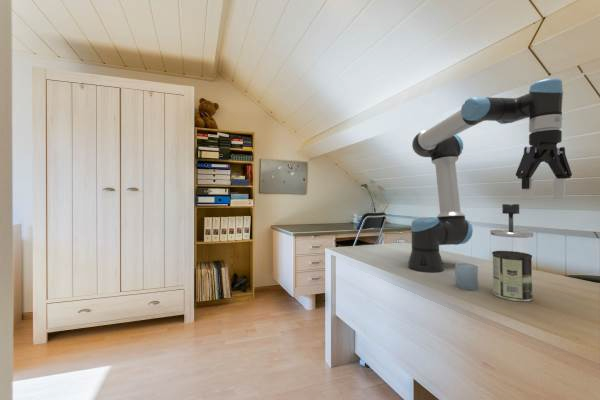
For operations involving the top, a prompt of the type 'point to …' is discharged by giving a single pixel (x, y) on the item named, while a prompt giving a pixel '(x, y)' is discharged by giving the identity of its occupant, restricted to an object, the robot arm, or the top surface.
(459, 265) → the frosted blue tumbler
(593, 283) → the top surface
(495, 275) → the coffee can
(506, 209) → the plunger
